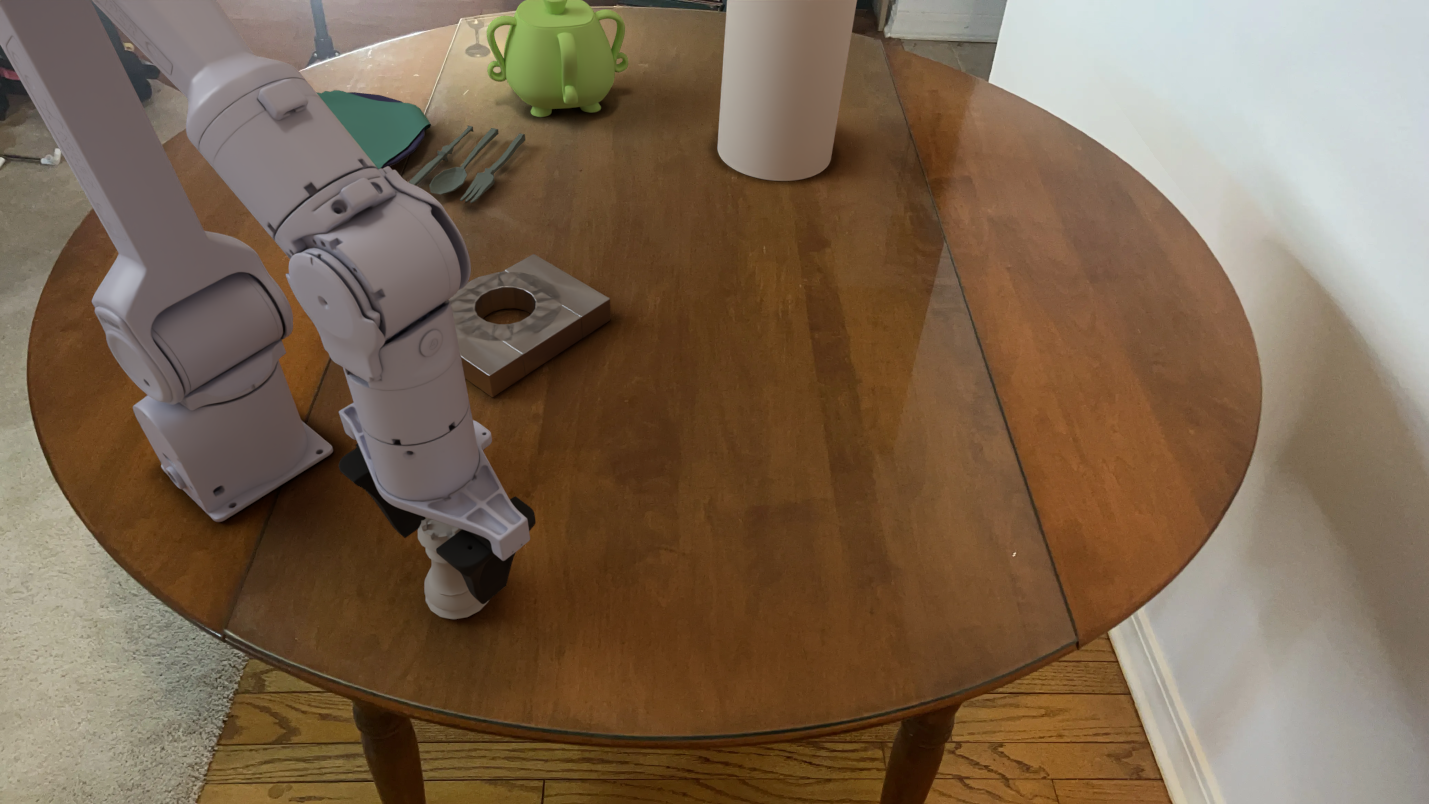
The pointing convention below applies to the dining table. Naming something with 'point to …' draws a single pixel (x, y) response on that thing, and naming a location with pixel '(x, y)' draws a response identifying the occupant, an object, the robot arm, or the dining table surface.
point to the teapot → (558, 54)
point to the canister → (782, 85)
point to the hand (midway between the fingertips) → (452, 558)
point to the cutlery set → (408, 139)
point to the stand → (525, 345)
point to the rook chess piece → (444, 575)
